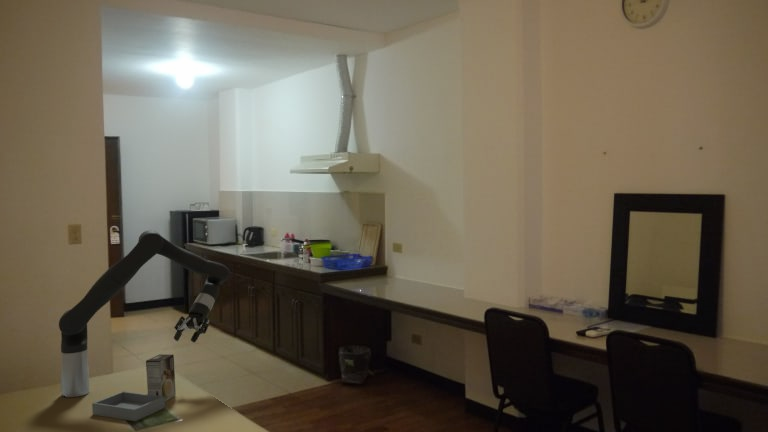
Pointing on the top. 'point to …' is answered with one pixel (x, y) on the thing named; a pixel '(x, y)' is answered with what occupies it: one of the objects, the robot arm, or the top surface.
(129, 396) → the tray
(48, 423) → the top surface
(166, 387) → the coffee box
